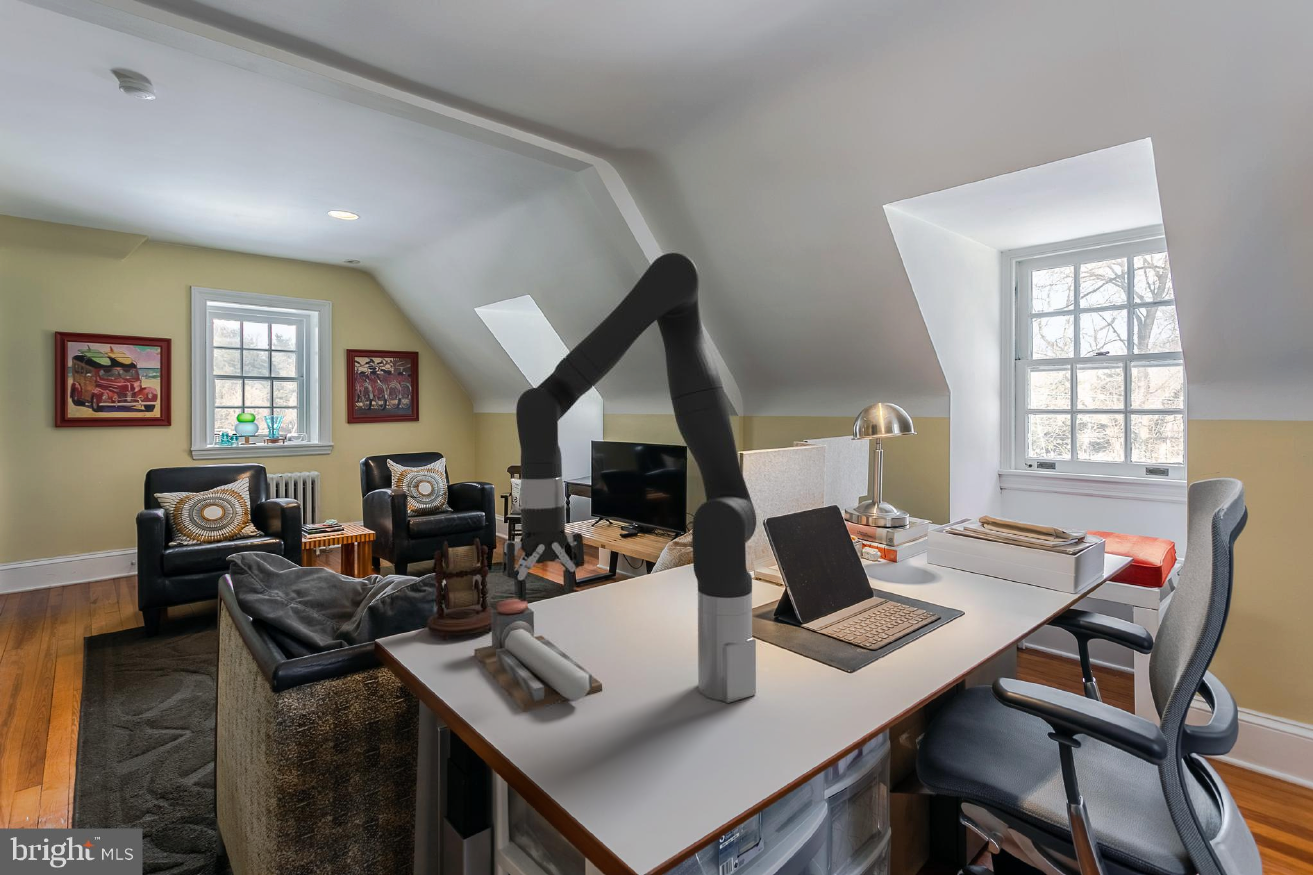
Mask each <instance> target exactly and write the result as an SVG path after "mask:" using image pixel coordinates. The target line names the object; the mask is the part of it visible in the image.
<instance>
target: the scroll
mask: <svg viewBox="0 0 1313 875" xmlns="http://www.w3.org/2000/svg"><path fill="white" fill-rule="evenodd" d="M473 541H474V542H473V545H468V546H458V547H457V546H456V547H449V545H448V542H447V541H446V540H445V541H444V542H443V543H442V550H437V551H435V552H434V553H433V554H434V556H433V557H434V559H435V560H434V561H435V563H436V565H435V573H434V581H435V583H436V584H437V585H436V588H435V592H436V594H435V596H434V599H435V601H436V604H435V605H437V607H436V612H435V614H434V615H433V616H431V617H430V618H429V619H428V620H427V625H426V626H427V630H428V631H429V632H430V633H432V634H437V635H441V637H442V640H443V641H444V642H445V641H447V639H448V636H459V635H460V636H463V635H470V634H474V633H475V634H476V633H479V632H482V631H486V630H487V633H489V632H491V633H492V625H491V611H492V610H491V609H490V608H488V607H489V602H488V600H487V599H488V597H489V596H488V594H489V590H490V589H489V588H488V587H487V586H488V581H487V578H488V575H489V573H490V572H489V567H488V561H487V557H488V555H487V554H488V552H489V550H488V547H487V546H486V545H482V546H481V543H480V540H479V539H478V537H476V538H475V539H474V540H473ZM442 563H443V564H444V567H445V573H444V572H443V571H444V570H443V569H444V567H443V564H442ZM478 564H480V567H479V568H478V570H477V569H475V568H476V567H477V566H478ZM477 575H479V576H480V578H481V580H480V581H479V580H478V579H475V580H474V577H475V576H477ZM444 581H445V583H444ZM443 583H444V584H443Z"/></svg>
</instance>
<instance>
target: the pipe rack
mask: <svg viewBox="0 0 1313 875" xmlns="http://www.w3.org/2000/svg"><path fill="white" fill-rule="evenodd" d="M528 606H529V603H528V601H527V600H526V601H523V602H521V601H520V600H519V599H518V598H516V599H515V598H513V599H506V600H501V601H500V602H498V603H497V604H496V609H494V610H491V625H492V631H491V645H487V646H483V647H477V648H474V651H473V652H474V656H475V657H476V659H477V660H478V661H479V660H480V661H481V662H480V661H479V662H480V663H481V664H482V665H483V667H484V668H485V667H486V668H485V669H486V670H487V671H488V672H489V673H490V674H491V676H493V678H494V679H495V680H496V681H497V683H498V684H499V685H500V686H501V688H503V689H504V690H505V692H506V693H507V694H508V695H509V696H510V697H511V698H512V699H513V701H514V702H515V704H517V705H518V706H519V708H520V709H521V710H522V711H523V712H526V711H531V710H535V709H538V708H541V707H544V706H545V705H546V706H549V705H548V704H550V705H552V703H553V704H556V702H557V703H560V702H559V701H561V702H564V700H565V701H568V700H567V699H568V698H566V697H564V696H563V695H561V694H560V693H559V692H558V691H556V690H555V689H554V688H552V687H551V686H550V685H549V684H547V683H546V682H545V681H543V680H542V679H541V678H540V677H538V676H537V675H536V674H535V673H533V672H532V671H531V670H529V669H528V668H527V667H526V666H524V665H523V664H522V663H521V662H519V661H518V660H517V659H515V658H514V657H513V656H512V655H511V654H510V653H509V652H508V651H507V650H506V649H505V640H506V639H507V637H508V636H509V634H510V632H511V631H514V630H518V629H523V630H525V631H526V632H528V633H530V634H531V636H532V637H533V638H535V639H536V640H538V641H539V642H541V643H542V644H544V645H545V646H547V647H548V648H550V649H551V650H552V651H554V652H555V653H557V654H558V655H560V656H561V657H563V658H564V659H566V660H567V661H569V662H570V663H572V664H573V665H574V666H576V667H577V668H579V669H580V670H582V671H583V672H585V673H586V674H588V675H589V688H590V689H589V691H588V692H587V693H586V695H587V694H588V695H591V694H595V693H598V692H602V691H603V683H602V682H601V681H599V680H598V679H597V678H596V677H594V676H593V675H592V673H591V672H589V671H588V670H587V669H585V668H584V667H583V666H582V665H580V664H579V663H578V662H577V661H575V660H574V659H573V658H572V657H570V656H569V655H568V654H566V653H565V652H564V651H563V650H562V649H561V648H559V647H558V646H557V645H555V644H554V643H553V642H552V641H550V640H549V639H547V638H546V637H544V636H543V635H538V636H537V635H536V636H535V614H534V611H533V610H532V609H531V608H529V607H528ZM586 695H585V696H586Z"/></svg>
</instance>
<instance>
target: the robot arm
mask: <svg viewBox="0 0 1313 875" xmlns="http://www.w3.org/2000/svg"><path fill="white" fill-rule="evenodd" d="M699 287H700V275H699V270H698V268H697V266H696V263H694V261H693V260H692V259H691V258H690V257H689V256H687V255H685V254H683V253H679V252H668V253H665V254H662V255H661V256H658V257H657V258H656V259H654V261H653V262H651V264H650V266H648V268H647V269H646V271H645V272H644V273H643V275H642V276H641V277H640V278H639V279H638V281H637V283H636V284H635V285H634V286H633V288H632V289H631V290H630V291H629V292H628V294H627V295H626V296H625V297H624V298H623V299H622V300H621V302H620V303H619V304H617V306H616V307H615V308H614V309H613V310H612V311H611V313H610V314H608V315H607V317H606V318H605V319H604V320H602V322H600V323H599V325H597V326H596V327H595V328H594V329H593V330H592V331H591V332H590V333H589V334H588V335H587V336H586V337H584V339H583V340H581V341H580V342H579V343H578V344H577V345H576V346H575V347H574V348H572V349H571V351H570V352H569V353H568V354H566V355H565V357H563V358H562V359H561V360H560V361H559V363H558V364H557V365H556V366H555V367H554V368H555V369H554V371H553V372H551V374H550V375H548V377H547V378H545V380H543V381H542V382H541V383H540V384H539V385H538V386H537V387H532V388H529V389H527V390H525V391H523V393H521V395H520V396H519V397H518V399H517V402H516V406H515V407H516V409H515V416H516V425H517V426H516V428H517V433H518V439H519V445H520V446H519V447H520V489H519V490H520V491H519V492H520V493H519V496H520V501H519V502H520V527H521V528H520V530H521V531H520V532H521V535H520V536H521V537H520V540H512V541H510V540H507V539H506V540H504V541H503V543H502V575H503V576H506V577H507V578H508V579H513V582H514V584H513V585H514V595H515V598H516V599H519V600H520V601H521V602H523V601H527V580H526V579H525V577H526V576H527V574H528V573H529V571H530V570H531V569H532V568H533V566H534V565H535V564H543V563H545V562H552V563H553V562H555V561H556V560H557V561H558V563H560V565H561V566H562V567H563V568H564V569H563V570H562V571H563V572H562V577H563V578H562V579H563V590H564V592H565V593H567V594H569V593H573V589H575V587H576V580H575V578H576V575H575V574H576V573H575V572H576V569H578V568H580V567H583V566H585V551H584V540H583V534H582V533H580V532H576V531H572V532H571V533H569V534H566V514H565V513H566V512H565V511H566V509H565V501H566V499H565V498H566V497H565V488H564V481H563V470H562V469H563V465H562V464H563V463H562V460H563V459H562V458H563V457H562V451H561V448H560V446H559V420H561V419H562V417H564V416H565V414H567V413H568V411H569V410H571V408H573V406H574V405H575V403H577V401H578V400H579V399H581V397H582V396H583V395H585V394H586V393H587V392H589V391H590V390H591V389H592V388H593V387H594V386H595V385H597V384H598V383H599V382H600V381H601V380H602V379H603V378H604V377H605V376H606V375H607V374H608V373H609V372H610V371H611V370H613V368H614V367H615V366H616V365H617V364H618V363H619V361H621V359H622V358H623V357H624V355H625V354H626V352H627V351H628V350H629V349H630V348H631V347H632V345H633V344H634V343H635V342H636V340H638V338H639V337H640V336H641V335H642V333H644V332H645V331H646V330H647V329H648V328H649V327H650V326H651V325H652V324H653V323H655V322H657V325H658V329H659V332H660V336H661V338H662V342H663V346H664V352H665V362H666V375H667V382H668V389H669V395H670V400H671V404H672V409H673V412H674V413H673V414H674V416H675V422H676V425H677V428H678V431H679V433H680V435H681V437H682V440H683V441H684V443H685V444H686V447H687V449H688V450H689V452H690V453H691V455H692V457H693V459H694V461H695V462H696V465H697V468H698V470H699V473H700V475H701V476H700V477H701V479H702V483H703V489H704V494H705V502H703V503H702V504H701V505H700V506H698V508H697V510H696V511H695V513H694V516H693V520H692V526H691V529H692V530H691V531H692V533H691V536H692V537H691V540H692V542H691V543H692V560H693V561H692V563H693V573H694V576H695V578H696V580H697V672H698V673H697V674H698V676H697V677H698V678H697V679H698V684H697V685H698V687H697V688H698V691H699V693H700V694H702V695H703V696H705V697H706V698H710V699H713V700H717V701H723V702H725V703H727V704H729V703H733V702H736V701H739V700H741V699H745V698H749V697H751V696H755V695H756V694H757V640H756V639H755V638H754V637H753V578H752V577H753V576H752V575H751V573H750V572H749V570H748V568H747V557H746V555H747V553H746V551H747V550H746V549H747V548H746V547H747V546H746V544H747V542H749V541H750V540H751V538H752V537H753V535H754V533H755V532H756V528H757V520H758V519H757V513H756V509H755V506H754V504H753V502H752V497H751V496H750V493H749V489H748V487H747V483H746V481H745V478H744V476H743V472H742V469H741V465H740V462H739V457H738V451H737V446H736V440H735V437H734V431H733V427H732V423H731V416H730V413H729V408H728V407H729V406H728V404H727V399H726V394H725V390H724V385H723V382H722V380H721V376H720V373H719V370H718V368H717V366H716V363H715V359H714V357H713V355H712V353H711V351H710V349H709V347H708V344H707V342H706V338H705V335H704V329H703V326H702V318H701V312H700V304H699V289H700V288H699ZM567 543H568V544H569V545H570V546H571V557H572V560H571V559H570V557H569V556H568V554H567V553H566V552H565V550H564V548H565V546H566V545H567ZM519 549H521V550H522V552H523V554H522V556H521V557H520V559H519V561H518V564H517V566H516V567H515V563H516V562H515V559H516V558H515V557H516V554H518V552H519V551H518V550H519Z"/></svg>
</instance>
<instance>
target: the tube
mask: <svg viewBox="0 0 1313 875" xmlns="http://www.w3.org/2000/svg"><path fill="white" fill-rule="evenodd" d="M505 649H506V650H507V651H508V652H509V653H510V654H511V655H512V656H513V657H514V658H515V659H517V660H518V661H519V662H521V663H522V664H523V665H524V666H526V667H527V668H528V669H529V670H531V671H532V672H533V673H535V674H536V675H537V676H538V677H540V678H541V679H542V680H543V681H545V682H546V683H547V684H549V685H550V686H551V687H552V688H554V689H555V690H556V691H558V692H559V693H560V694H561V695H563V696H564V697H566V698H568V699H569V700H570V701H572V702H573V701H578V700H581V699H583V698H584V697H585V696H586V693H587V692H588V691H589V689H590V688H589V675H588V674H586V673H585V672H583V671H582V670H580V669H579V668H577V667H576V666H574V665H573V664H572V663H570V662H569V661H567V660H566V659H564V658H563V657H561V656H560V655H558V654H557V653H555V652H554V651H552V650H551V649H550V648H548V647H547V646H545V645H544V644H542V643H541V642H539V641H538V640H536V639H535V638H533V637H532V636H531V634H530V633H528V632H526V631H525V630H523V629H518V630H514V631H511V632H510V634H509V636H508V637H507V639H506V640H505Z"/></svg>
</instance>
